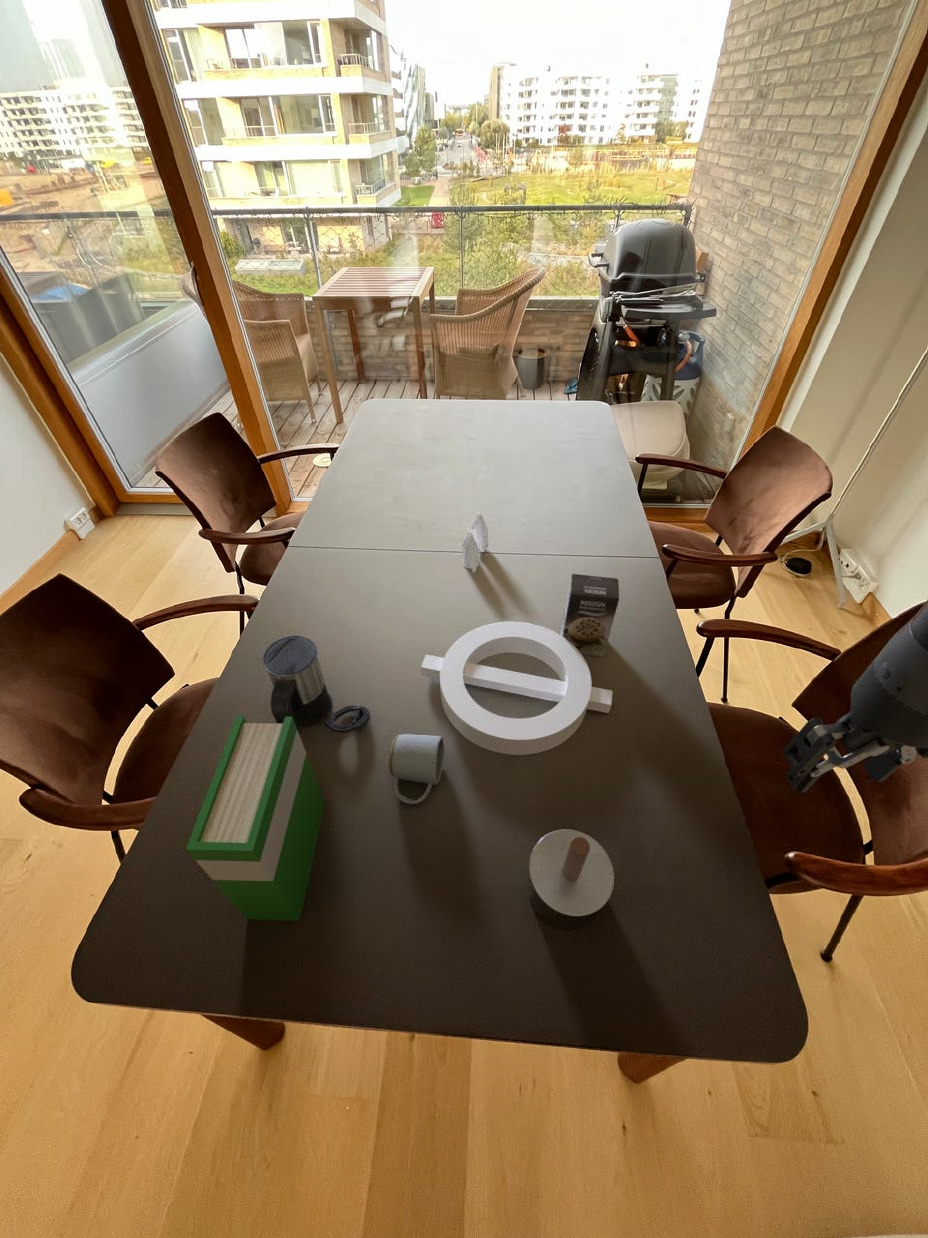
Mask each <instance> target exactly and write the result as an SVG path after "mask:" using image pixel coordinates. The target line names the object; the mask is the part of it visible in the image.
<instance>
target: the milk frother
mask: <svg viewBox="0 0 928 1238" xmlns="http://www.w3.org/2000/svg"><path fill="white" fill-rule="evenodd" d="M261 660H262V661H261V662H262V663H261V664H262V666H263V668H264V669H265V670H266V672H267V673H268V675H269V679H270V681H271V684H272V686H273V688H272V692H271V696H270V709H271V714H272V716H273V718H274V720H275V722H276V724H283V722H284V719H285V717H292V718H293V720H294V723H295V725H296V728H297V730H298V733H299V736H300V737H301V733H302V732H301V728H309V727H313V726H316V725H318V724H319V723H322V724H323V726H325V727H326V728H327V729H328V730H329V731H330V732H332V733H335V734H348V733H352V732H355V731H357V730H359V729H360V728H361V729H362V727H364V726H365V725H366V724H367V723H368V722H369V720H370V719H371V712H370V710H369V709H368V708H367V707H366V706H363V705H361V704H358V705H357V704H356V705H349V706H344V707H343V708H341V709H339V710H337V711H335V712H334V713H332V715H331V716H330V718H329V720H328V721H327V720H326V718H327V717H328V715H329V714H330V712H331V711H332V708H333V707H332V706H333V700H332V696H331V695H330V694H329V692H328V689H327V685H326V683H325V679H324V676H323V671H322V668H321V665H320V661H319V657H318V647H317V645H316V644H315V642H313V640H312V639H310V638H307V637H305V636H302V635H289V636H285V637H282V638H278V639H277V640H275V641H274V642H272V643H271V644H270V645H269V646H268V647H267V648H266V649H265V651H264V653H263V655H262V658H261ZM347 713H352V717H351V724H348V725H343V726H342V725H338V724H336V722H337V720H338V719H339V718H341V716H343V715H345V714H347Z"/></svg>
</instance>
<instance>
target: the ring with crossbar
mask: <svg viewBox="0 0 928 1238" xmlns="http://www.w3.org/2000/svg"><path fill="white" fill-rule="evenodd" d="M509 653H510V654H521V655H526V656H530V657H533V658H536V659H537V660H539V661H541V662H543V663H545V664H546V665H548V666H549V667H550V668H551V669H552V670H553V671H554V672H555V673H556V675H557V676H558V678H559V679H560V680H559V679H555V678H551V677H550V678H549V677H545V676H544V677H543V676H540V675H534V674H528V673H523V672H518V671H513V670H508V669H503V668H498V667H493V666H487V665H482V664H479V663H480V662H481V661H483V660H485V659H487V658H489V657H492V656H495V655H499V654H509ZM588 665H589V664H588V663H587V661H586V658H584V656H583V654H581V653H580V652H579V651H578V650H577V648H576V647H575V646H574V645H573V644H571V643H570V642H569V641H568V640H567V639H565V638H564V637H562V636H561V635H560V633H558V632H556V631H553V630H551V629H549V628H547V627H545V626H542V625H539V624H535V623H529V622H523V621H498V622H492V623H488V624H484V625H482V626H478V627H475V628H473V629H472V630H469V631H468V632H466V633H465V634H463V635H462V636H460V637H459V638H458V639H457V640H455V642H453V644H451V646H450V647H449V649H448V650H447V651H446V653H445V655H444V657H442V656H436V655H431V654H425V656H424V658H423V661H422V664H421V666H420V672H421V673H420V674H421V676H424V677H428V678H435V679H439V687H440V699H441V706H442V708H443V711H444V713H445V715H446V717H447V719H448V721H449V722H450V724H451V725H452V726H453V727H454V728H455V730H456V731H457V732H458V733H459V734H461V736H463V737H464V738H465V739H467V740H468V741H469V742H471V743H473V744H475V745H476V746H478V747H481V748H483V749H484V750H488V751H492V752H495V753H499V754H504V755H513V756H526V755H532V754H533V755H534V754H539V753H542V752H546V751H549V750H551V749H554V748H556V747H558V746H559V745H561V744H563V743H564V742H566V741H567V740H568V739H570V738H571V737H572V736H573V735H574V734H575V732H576V731H577V730H578V729H579V727H580V726H581V724H582V722H583V721H584V719H585V716H586V713H587V710H591V711H595V712H600V713H606V714H610V712H611V708H612V704H613V703H612V701H613V690H611V689H606V688H600V687H595V686H592V676H591V675H592V674H591V672H590V668H589V666H588ZM465 684H467V685H472V686H476V687H480V688H481V687H482V688H486V689H492V690H497V691H501V692H506V693H511V694H515V695H520V696H526V697H531V698H534V699H535V698H536V699H541V700H546V701H551V702H556V703H557V704H555V706H554V707H553V708H551V709H549V710H548V711H546V712H544V713H541V714H539V715H536V716H532V717H525V718H516V717H515V718H512V717H506V716H502V715H498V714H495V713H493V712H492V711H489V710H487V709H485V708H483V707H482V706H480V705H479V704H478V703H477V702H476V701H475V700H474V699H473V698H472V697H471V694H470V693H469V692H468V690H467V688H466V685H465Z"/></svg>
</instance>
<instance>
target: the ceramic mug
mask: <svg viewBox="0 0 928 1238" xmlns="http://www.w3.org/2000/svg"><path fill="white" fill-rule="evenodd" d="M444 755H445V743H444V737H442V736H440V735H427V734H412V733H403V734H397V735H396V736H395V737H394V738H393V740H392V742H391V745H390V750H389V755H388V770H389V773H390V775H391V776H392V777H394V783H393V784H394V792H395V795H396V796H397V798H398V799H399V800H400V801H401V802H402V803H405V804H408V805H418V804H421V803H422V802H424V801H425V800H426V799H427V797H428V796H429V794H430V792H431V790H432V787H433V785H438V784H439V782H440V779H441V775H442V772H443V764H444ZM400 780H404V781H412V782H417V783H422V784H427V788H426V790H425V792H424V793H423V795H422V796H420V797H419V798H418V799H411V798H408V797H407V796H406V795H402V794H401V793H400V790H399V781H400Z"/></svg>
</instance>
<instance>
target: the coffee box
mask: <svg viewBox="0 0 928 1238" xmlns="http://www.w3.org/2000/svg"><path fill="white" fill-rule="evenodd" d="M570 574H571V575H570V581H569V585H568V591H567V596H566V601H565V605H564V611H563V616H562V621H561V627H560V630H559V631H560V633H559V635H561V636H562V637H564V638H565V639H567V640H568V641H569V642H570V643H571V644H573V645H574V646H575V647H576V648H577V650H578V651H579V652H580V653H581V655H585V656H593V657H601V658H603V657H605V656H604V655H605V651H606V647H607V645H608V641H609V638H610V634H611V631H612V626H613V624H614V619H615V616H616V613H617V609H618V605H619V602H620V589H619V588H620V586H619V585H620V584H619V579H618V578H616V577H606V576H597V575H589V574H588V575H587V574H578V573H570Z"/></svg>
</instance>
